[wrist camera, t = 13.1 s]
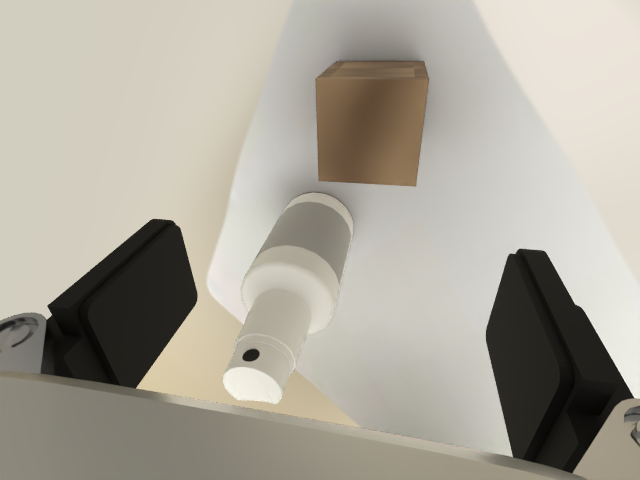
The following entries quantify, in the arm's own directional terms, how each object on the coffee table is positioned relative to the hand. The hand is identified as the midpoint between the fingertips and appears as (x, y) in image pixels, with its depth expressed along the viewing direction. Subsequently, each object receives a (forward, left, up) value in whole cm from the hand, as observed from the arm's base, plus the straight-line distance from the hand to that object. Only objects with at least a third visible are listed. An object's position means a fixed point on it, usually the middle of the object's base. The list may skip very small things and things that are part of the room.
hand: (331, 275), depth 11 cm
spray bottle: (-11, +5, -21) cm, 25 cm away
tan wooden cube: (0, 0, -20) cm, 20 cm away
